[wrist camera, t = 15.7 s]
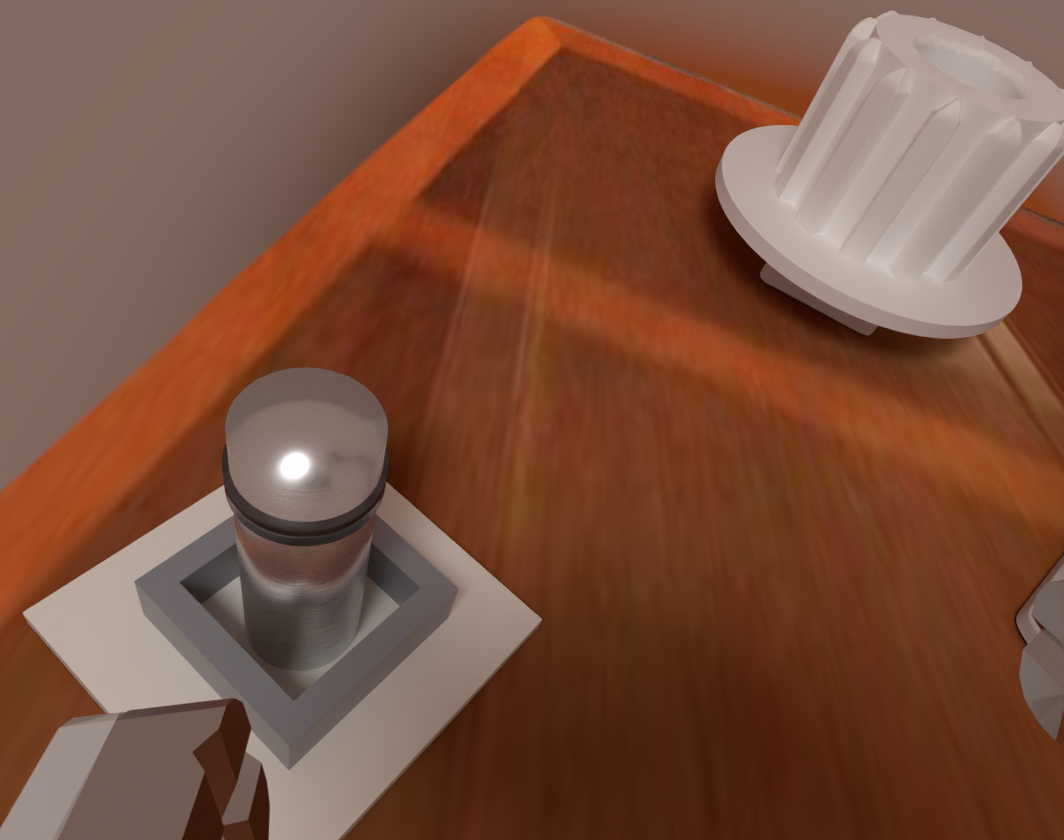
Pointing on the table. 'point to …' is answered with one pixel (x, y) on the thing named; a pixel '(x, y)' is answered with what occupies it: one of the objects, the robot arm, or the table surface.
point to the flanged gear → (900, 180)
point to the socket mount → (282, 695)
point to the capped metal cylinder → (304, 509)
